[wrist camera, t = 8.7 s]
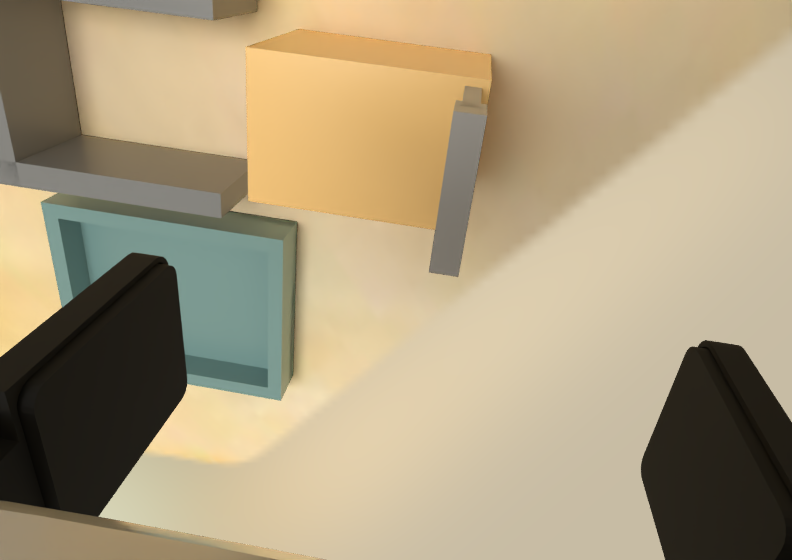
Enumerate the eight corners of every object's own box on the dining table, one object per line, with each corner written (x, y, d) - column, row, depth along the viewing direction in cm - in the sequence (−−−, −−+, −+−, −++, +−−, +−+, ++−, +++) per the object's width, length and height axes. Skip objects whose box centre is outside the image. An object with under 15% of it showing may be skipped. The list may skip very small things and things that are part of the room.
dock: (256, -18, 27) (211, -14, 22) (258, 182, 31) (221, 218, 27) (29, -47, 27) (-58, -49, 23) (63, 153, 32) (-3, 183, 28)
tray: (297, 221, 32) (282, 240, 30) (293, 375, 37) (280, 400, 35) (70, 186, 33) (40, 202, 31) (96, 340, 38) (73, 363, 36)
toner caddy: (490, 54, 27) (492, 105, 17) (469, 179, 30) (459, 285, 20) (299, 28, 27) (194, 64, 18) (296, 153, 30) (204, 243, 21)
